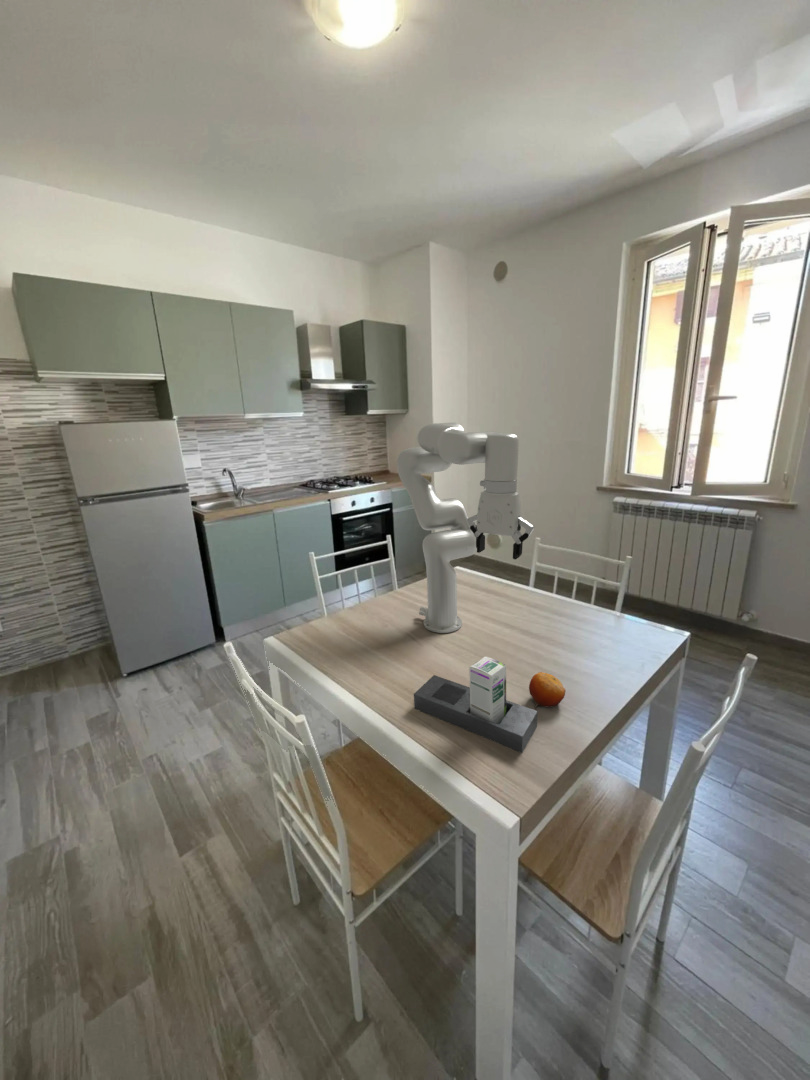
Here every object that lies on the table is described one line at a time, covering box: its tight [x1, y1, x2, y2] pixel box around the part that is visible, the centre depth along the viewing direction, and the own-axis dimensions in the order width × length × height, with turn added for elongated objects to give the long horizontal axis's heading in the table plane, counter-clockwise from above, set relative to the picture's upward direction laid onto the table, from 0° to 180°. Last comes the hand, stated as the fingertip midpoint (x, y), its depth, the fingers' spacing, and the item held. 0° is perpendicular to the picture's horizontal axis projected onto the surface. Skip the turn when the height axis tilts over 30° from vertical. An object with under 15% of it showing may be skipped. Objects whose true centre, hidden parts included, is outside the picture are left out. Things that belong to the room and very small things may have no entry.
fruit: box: [528, 671, 566, 709], centre depth 99 cm, size 8×8×8 cm
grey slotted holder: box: [413, 674, 539, 754], centre depth 95 cm, size 26×9×4 cm, turn 55°
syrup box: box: [468, 655, 507, 725], centre depth 92 cm, size 6×6×14 cm
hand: (498, 554), depth 106 cm, fingers open, 9 cm apart
